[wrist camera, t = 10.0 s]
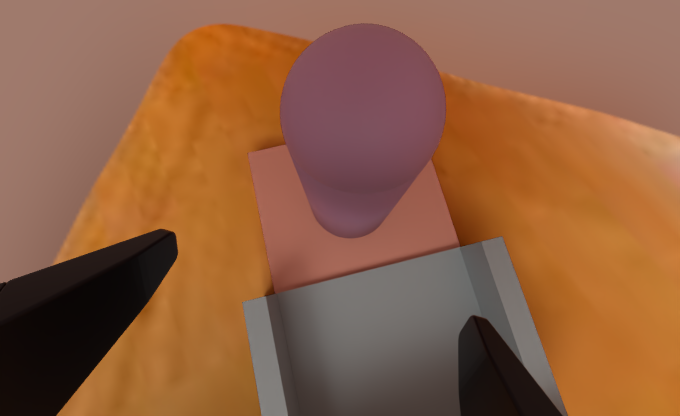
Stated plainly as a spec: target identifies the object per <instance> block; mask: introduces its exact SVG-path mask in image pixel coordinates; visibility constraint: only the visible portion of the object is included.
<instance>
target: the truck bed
mask: <svg viewBox="0 0 680 416" xmlns="http://www.w3.org/2000/svg"><path fill="white" fill-rule="evenodd" d="M248 158H249V163H250V168H251V173H252V178H253V184H254V189H255V194H256V199H257V204H258V209H259V215H260V220H261V225H262V230H263V235H264V240H265V246H266V251H267V256H268V261H269V266H270V271H271V277H272V282H273V287H274V292H275V294H273V295H269V296H265V297H261V298H257V299H253V300H249V301H245V302H242V303H243V309H244V315H245V321H246V327H247V333H248V338H249V344H250V350H251V356H252V362H253V368H254V374H255V380H256V385H257V391H258V397H259V403H260V409H261V415H262V416H461V412H460V404H459V391H458V337H459V333H460V331H461V329H462V328H463V326H464V325H465V323H466V321H467V320H468V318H469V317H470V316H471V315H476V316H480V317H484V318H486V319H487V320H488V321H489V322H490V323H491V324H492V326H493V327H494V328H495V329H496V331H497V332H498V333H499V335H500V336H501V337H502V338H503V340H504V341H505V342H506V343H507V345H508V346H509V347H510V349H511V350H512V351H513V352H514V354H515V355H516V356H517V358H518V359H519V360H520V361H521V363H522V364H523V365H524V366H525V368H526V369H527V370H528V372H529V373H530V374H531V375H532V377H533V378H534V379H535V381H536V382H537V383H538V384H539V386H540V387H541V388H542V389H543V391H544V392H545V393H546V395H547V396H548V397H549V398H550V400H551V401H552V402H553V404H554V405H555V406H556V407H557V409H558V410H559V411H560V412H561V414H562V415H563V416H568V415H567V412H566V410H565V407H564V404H563V401H562V399H561V396H560V393H559V390H558V388H557V385H556V382H555V379H554V377H553V374H552V371H551V368H550V366H549V363H548V360H547V358H546V355H545V352H544V349H543V347H542V344H541V341H540V338H539V336H538V333H537V330H536V327H535V325H534V322H533V319H532V316H531V314H530V311H529V308H528V305H527V303H526V300H525V297H524V294H523V292H522V289H521V286H520V283H519V281H518V278H517V275H516V273H515V270H514V267H513V264H512V262H511V259H510V256H509V253H508V251H507V248H506V245H505V242H504V240H503V237H502V236H501V237H497V238H493V239H490V240H486V241H482V242H478V243H474V244H470V245H466V246H462V247H460V244H459V241H458V238H457V235H456V232H455V229H454V226H453V223H452V219H451V216H450V213H449V210H448V207H447V204H446V201H445V198H444V195H443V192H442V189H441V186H440V183H439V180H438V177H437V174H436V171H435V168H434V165H433V162H432V159H430V161H429V162H428V163H427V165H426V166H425V167H424V168H423V170H422V171H421V172H420V174H419V175H418V176H417V178H416V179H415V180H414V182H413V183H412V184H411V186H410V187H409V188H408V190H407V191H406V192H405V193H404V195H403V196H402V197H401V199H400V200H399V201H398V203H397V204H396V205H395V207H394V208H393V209H392V211H391V212H390V213H389V215H388V216H387V217H386V218H385V220H384V221H383V222H382V224H381V225H380V226H379V227H378V228H377V229H376V230H374V231H373V232H372V233H370V234H368V235H366V236H363V237H359V238H342V237H338V236H335V235H333V234H331V233H329V232H328V231H326V230H325V229H324V228H323V227H322V226H321V225H320V224H319V223H318V221H317V220H316V218H315V216H314V214H313V212H312V209H311V207H310V204H309V202H308V199H307V196H306V194H305V191H304V189H303V186H302V184H301V181H300V179H299V176H298V173H297V171H296V168H295V166H294V163H293V161H292V158H291V156H290V153H289V150H288V148H287V145H281V146H277V147H272V148H268V149H263V150H259V151H255V152H250V153H248Z"/></svg>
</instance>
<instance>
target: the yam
mask: <svg viewBox="0 0 680 416" xmlns="http://www.w3.org/2000/svg"><path fill="white" fill-rule="evenodd" d="M445 117H446V100H445V93H444V88H443V84H442V81H441V78H440V75H439V72H438V70H437V69H436V67H435V65H434V63H433V62H432V60H431V59H430V57H429V56H428V54H427V53H426V52H425V51H424V50H423V49H422V48H421V47H420V46H419V45H418V44H417V43H416V42H415V41H413V40H412V39H411V38H409V37H408V36H406V35H405V34H403V33H401V32H399V31H397V30H395V29H392V28H389V27H386V26H382V25H376V24H353V25H348V26H344V27H341V28H338V29H335V30H333V31H330V32H328V33H326V34H324V35H323V36H321V37H319V38H318V39H317V40H315V41H314V42H313V43H312V44H311V45H309V46H308V47H307V48H306V49H305V50H304V51H303V52H302V53H301V55H300V56H299V57H298V59H297V60H296V61H295V63H294V65H293V66H292V68H291V70H290V72H289V74H288V76H287V79H286V81H285V84H284V88H283V92H282V96H281V105H280V120H281V127H282V132H283V136H284V140H285V143H286V145H287V148H288V150H289V153H290V156H291V158H292V161H293V163H294V166H295V168H296V171H297V173H298V176H299V179H300V181H301V184H302V186H303V189H304V191H305V194H306V196H307V199H308V202H309V204H310V207H311V209H312V212H313V214H314V216H315V218H316V220H317V221H318V223H319V224H320V225H321V226H322V227H323V228H324V229H325V230H326V231H328V232H329V233H331V234H333V235H335V236H338V237H342V238H359V237H363V236H366V235H368V234H370V233H372V232H373V231H374V230H376V229H377V228H378V227H379V226H380V225H381V224H382V222H383V221H384V220H385V218H386V217H387V216H388V215H389V213H390V212H391V211H392V209H393V208H394V207H395V205H396V204H397V203H398V201H399V200H400V199H401V197H402V196H403V195H404V193H405V192H406V191H407V190H408V188H409V187H410V186H411V184H412V183H413V182H414V180H415V179H416V178H417V176H418V175H419V174H420V172H421V171H422V170H423V168H424V167H425V166H426V165H427V163H428V162H429V161H430V159H431V157H432V156H433V154H434V152H435V150H436V149H437V147H438V144H439V142H440V139H441V137H442V133H443V129H444V124H445Z"/></svg>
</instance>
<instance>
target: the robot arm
mask: <svg viewBox="0 0 680 416" xmlns="http://www.w3.org/2000/svg"><path fill="white" fill-rule="evenodd" d="M177 255H178V249H177V240H176V235H175V233H174V232H172V231H168V230H165V229H158V230H155V231H152V232H149V233H146V234H143V235H141V236H138V237H135V238H132V239H129V240H126V241H123V242H120V243H117V244H114V245H111V246H109V247H106V248H103V249H100V250H97V251H94V252H91V253H88V254H85V255H82V256H79V257H77V258H74V259H71V260H68V261H65V262H62V263H59V264H56V265H53V266H50V267H47V268H44V269H42V270H39V271H36V272H33V273H30V274H27V275H24V276H21V277H18V278H15V279H12V280H10V281H8V282H7V283H6V282H4V283H1V284H0V416H56V415H57V414H58V413H59V412H60V410H61V409H62V408H63V407H64V405H65V404H66V403H67V402H68V400H69V399H70V398H71V397H72V396H73V394H74V393H75V392H76V391H77V389H78V388H79V387H80V386H81V384H82V383H83V382H84V381H85V379H86V378H87V377H88V376H89V375H90V373H91V372H92V371H93V370H94V368H95V367H96V366H97V365H98V363H99V362H100V361H101V360H102V359H103V357H104V356H105V355H106V354H107V352H108V351H109V350H110V349H111V347H112V346H113V345H114V344H115V343H116V341H117V340H118V339H119V338H120V336H121V335H122V334H123V333H124V331H125V330H126V329H127V328H128V327H129V325H130V324H131V323H132V322H133V320H134V319H135V318H136V317H137V315H138V314H139V313H140V312H141V310H142V309H143V308H144V307H145V305H146V304H147V303H148V301H149V300H150V299H151V297H152V296H153V294H154V293H155V291H156V290H157V288H158V286H159V285H160V283H161V282H162V280H163V279H164V277H165V276H166V274H167V273H168V271H169V270H170V268H171V267H172V265H173V264H174V262H175V260H176V258H177ZM458 391H459V404H460V412H461V416H563V415H562V414H561V412H560V411H559V410H558V409H557V407H556V406H555V405H554V404H553V402H552V401H551V400H550V398H549V397H548V396H547V395H546V393H545V392H544V391H543V389H542V388H541V387H540V386H539V384H538V383H537V382H536V381H535V379H534V378H533V377H532V375H531V374H530V373H529V372H528V370H527V369H526V368H525V366H524V365H523V364H522V363H521V361H520V360H519V359H518V358H517V356H516V355H515V354H514V352H513V351H512V350H511V349H510V347H509V346H508V345H507V343H506V342H505V341H504V340H503V338H502V337H501V336H500V335H499V333H498V332H497V331H496V329H495V328H494V327H493V326H492V324H491V323H490V322H489V321H488V320H487V319H486V318H484V317H480V316H476V315H471V316H470V317H469V318H468V320H467V321H466V323H465V325H464V326H463V328H462V329H461V331H460V333H459V337H458Z"/></svg>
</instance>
